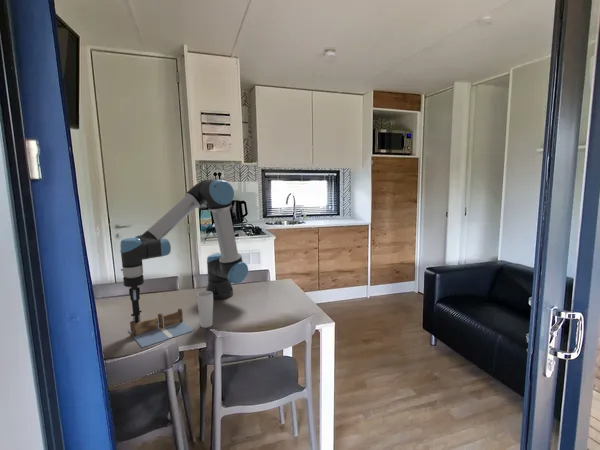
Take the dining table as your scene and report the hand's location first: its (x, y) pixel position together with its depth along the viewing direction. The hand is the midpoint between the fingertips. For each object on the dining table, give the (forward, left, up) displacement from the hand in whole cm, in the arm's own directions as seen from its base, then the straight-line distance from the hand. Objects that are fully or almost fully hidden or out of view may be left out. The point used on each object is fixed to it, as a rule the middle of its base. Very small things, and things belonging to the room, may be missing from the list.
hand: (137, 328), depth 141 cm
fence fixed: (+3, +14, -2) cm, 14 cm away
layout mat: (+5, +8, -2) cm, 10 cm away
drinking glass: (+14, +25, -2) cm, 28 cm away
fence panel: (+3, +3, -1) cm, 4 cm away
